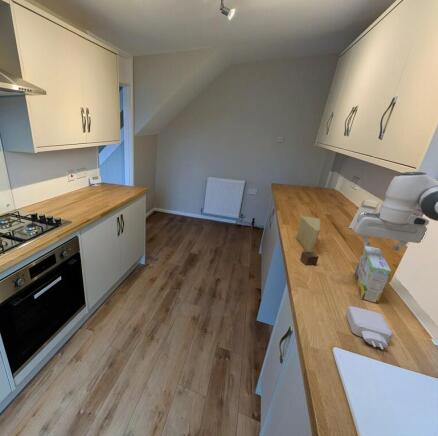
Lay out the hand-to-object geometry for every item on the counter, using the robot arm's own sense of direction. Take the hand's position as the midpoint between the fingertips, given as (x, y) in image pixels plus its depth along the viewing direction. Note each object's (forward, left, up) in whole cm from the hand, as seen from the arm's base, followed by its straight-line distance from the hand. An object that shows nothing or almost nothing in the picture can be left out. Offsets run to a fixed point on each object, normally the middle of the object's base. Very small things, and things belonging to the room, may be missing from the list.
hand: (380, 247), depth 94 cm
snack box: (0, 0, -19) cm, 19 cm away
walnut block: (+18, -14, -19) cm, 30 cm away
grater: (-26, -79, -19) cm, 85 cm away
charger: (+10, +31, -19) cm, 38 cm away
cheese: (+14, -34, -19) cm, 42 cm away
